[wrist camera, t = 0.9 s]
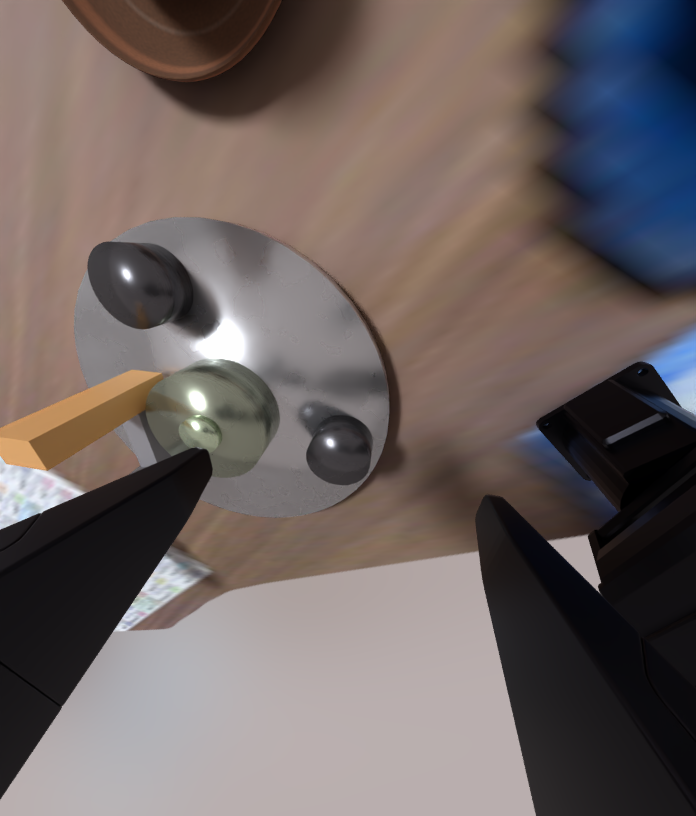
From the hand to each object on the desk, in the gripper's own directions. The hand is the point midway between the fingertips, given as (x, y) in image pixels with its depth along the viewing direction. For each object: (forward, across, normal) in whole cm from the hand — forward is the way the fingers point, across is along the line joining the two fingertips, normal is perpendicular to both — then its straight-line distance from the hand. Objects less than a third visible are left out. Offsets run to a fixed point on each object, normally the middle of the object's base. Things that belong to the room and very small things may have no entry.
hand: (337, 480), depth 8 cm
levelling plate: (+12, +10, +5) cm, 16 cm away
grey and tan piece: (+10, +16, +8) cm, 21 cm away
